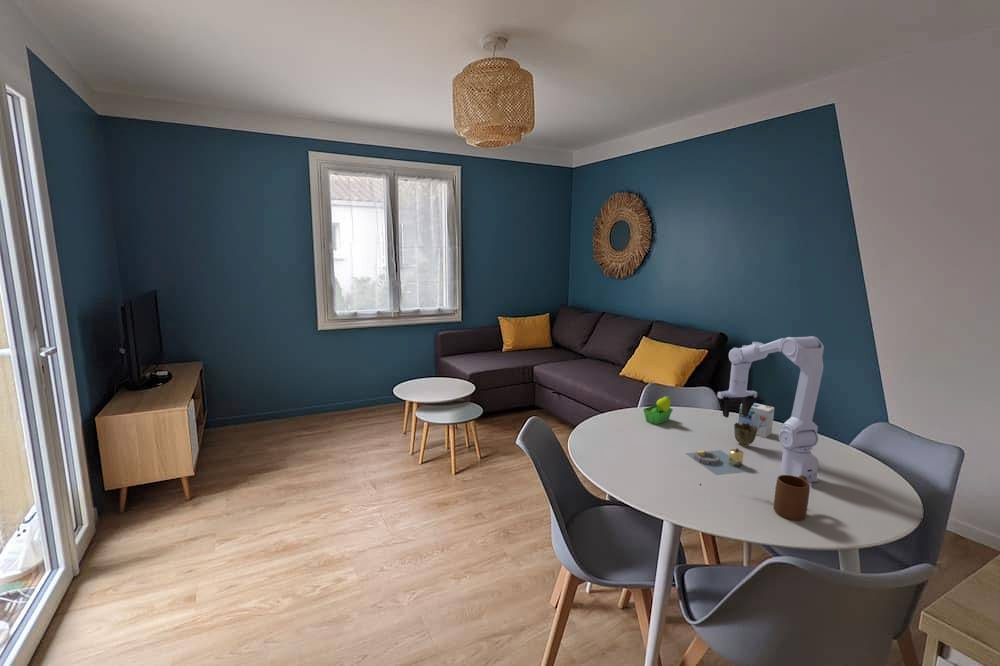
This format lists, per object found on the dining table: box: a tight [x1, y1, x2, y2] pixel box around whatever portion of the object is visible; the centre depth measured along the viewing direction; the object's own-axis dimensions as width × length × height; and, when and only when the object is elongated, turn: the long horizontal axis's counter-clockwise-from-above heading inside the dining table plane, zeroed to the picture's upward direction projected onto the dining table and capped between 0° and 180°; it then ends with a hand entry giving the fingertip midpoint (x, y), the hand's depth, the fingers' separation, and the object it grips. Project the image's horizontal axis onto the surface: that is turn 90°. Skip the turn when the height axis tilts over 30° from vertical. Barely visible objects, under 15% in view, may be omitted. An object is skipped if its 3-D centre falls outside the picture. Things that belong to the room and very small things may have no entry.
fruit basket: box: [642, 396, 674, 425], centre depth 195 cm, size 11×9×11 cm
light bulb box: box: [737, 402, 775, 438], centre depth 185 cm, size 11×7×11 cm, turn 42°
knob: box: [728, 448, 744, 467], centre depth 154 cm, size 4×4×5 cm
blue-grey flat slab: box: [685, 450, 755, 476], centre depth 156 cm, size 16×14×2 cm
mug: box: [773, 474, 811, 521], centre depth 128 cm, size 12×8×9 cm, turn 128°
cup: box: [733, 422, 758, 447], centre depth 171 cm, size 8×7×8 cm
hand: (735, 416), depth 174 cm, fingers open, 7 cm apart
